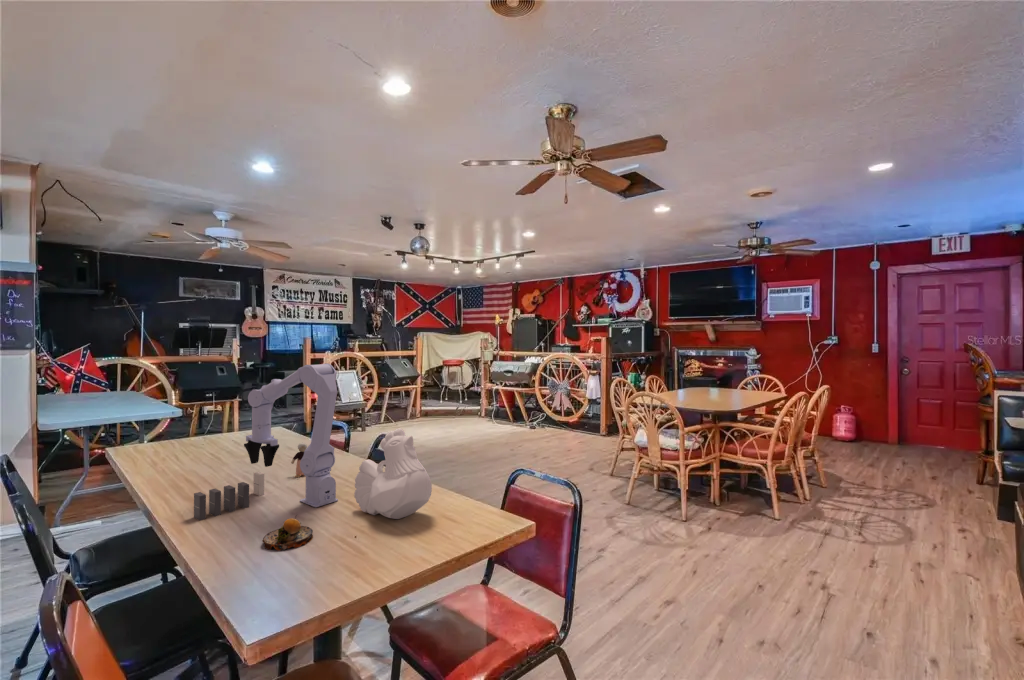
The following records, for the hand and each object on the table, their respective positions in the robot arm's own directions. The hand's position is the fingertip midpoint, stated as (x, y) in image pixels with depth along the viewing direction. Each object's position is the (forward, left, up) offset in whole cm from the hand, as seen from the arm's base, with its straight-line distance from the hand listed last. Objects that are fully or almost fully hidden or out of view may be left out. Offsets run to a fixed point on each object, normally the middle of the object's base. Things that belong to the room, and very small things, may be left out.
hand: (261, 464), depth 158 cm
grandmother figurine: (+7, -19, -10) cm, 22 cm away
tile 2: (-9, +14, -10) cm, 19 cm away
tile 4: (-9, +22, -10) cm, 25 cm away
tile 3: (-9, +18, -10) cm, 22 cm away
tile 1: (-9, +10, -10) cm, 16 cm away
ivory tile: (-1, +1, -10) cm, 10 cm away
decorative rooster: (-51, -14, -10) cm, 54 cm away
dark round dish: (-44, +14, -10) cm, 47 cm away
